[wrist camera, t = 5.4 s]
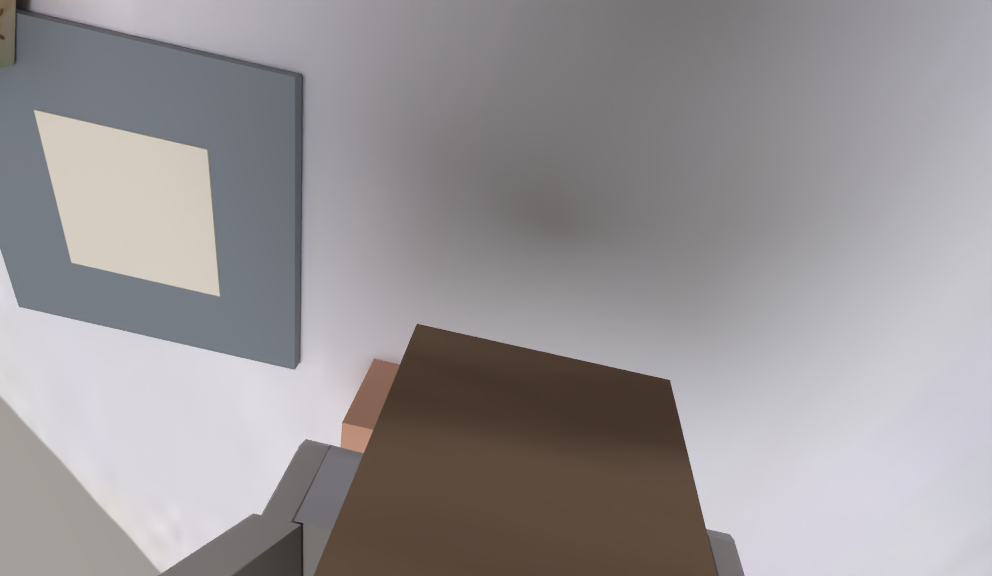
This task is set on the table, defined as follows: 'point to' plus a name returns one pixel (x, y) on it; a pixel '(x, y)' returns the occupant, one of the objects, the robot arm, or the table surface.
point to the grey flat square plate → (152, 188)
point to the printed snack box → (7, 32)
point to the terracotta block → (367, 405)
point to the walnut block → (519, 471)
